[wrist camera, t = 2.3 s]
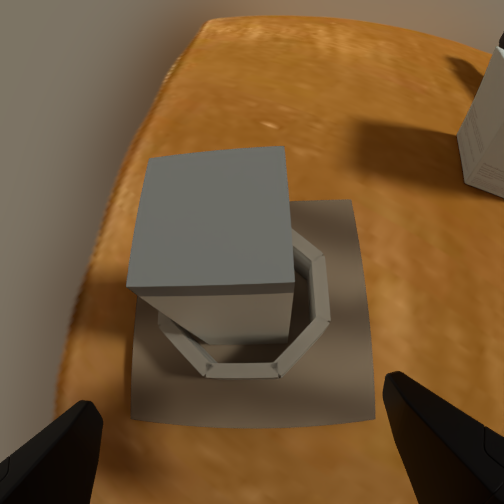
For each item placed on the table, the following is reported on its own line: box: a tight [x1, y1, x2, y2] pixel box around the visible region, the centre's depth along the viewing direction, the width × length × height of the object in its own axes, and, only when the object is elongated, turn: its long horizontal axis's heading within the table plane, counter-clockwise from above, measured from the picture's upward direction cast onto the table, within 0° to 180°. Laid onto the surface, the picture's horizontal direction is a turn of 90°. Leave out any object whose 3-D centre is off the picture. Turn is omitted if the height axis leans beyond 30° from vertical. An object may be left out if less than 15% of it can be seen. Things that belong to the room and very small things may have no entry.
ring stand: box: [131, 200, 375, 428], centre depth 20 cm, size 16×16×5 cm
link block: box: [126, 146, 295, 345], centre depth 15 cm, size 5×5×12 cm
